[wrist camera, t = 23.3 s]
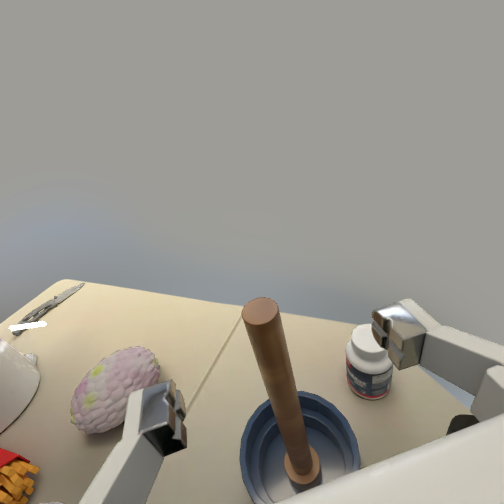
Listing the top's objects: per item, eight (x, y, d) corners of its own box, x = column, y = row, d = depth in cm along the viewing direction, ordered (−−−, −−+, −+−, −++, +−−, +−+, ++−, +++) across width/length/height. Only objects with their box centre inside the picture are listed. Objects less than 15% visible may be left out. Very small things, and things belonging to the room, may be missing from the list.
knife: (87, 282, 71) (79, 278, 72) (13, 333, 59) (5, 327, 60) (89, 287, 72) (81, 282, 73) (17, 338, 60) (8, 331, 61)
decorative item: (173, 352, 41) (101, 345, 35) (154, 438, 38) (71, 447, 31) (148, 344, 48) (84, 338, 41) (130, 417, 44) (57, 422, 38)
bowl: (247, 543, 26) (232, 524, 23) (256, 418, 35) (246, 392, 32) (373, 552, 24) (375, 533, 21) (347, 416, 33) (346, 389, 30)
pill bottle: (338, 372, 38) (335, 329, 33) (371, 356, 39) (372, 312, 34) (364, 408, 34) (365, 364, 29) (400, 389, 35) (406, 344, 30)
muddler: (287, 491, 28) (225, 337, 15) (286, 450, 31) (234, 292, 18) (323, 492, 28) (291, 332, 15) (319, 450, 31) (289, 286, 18)
